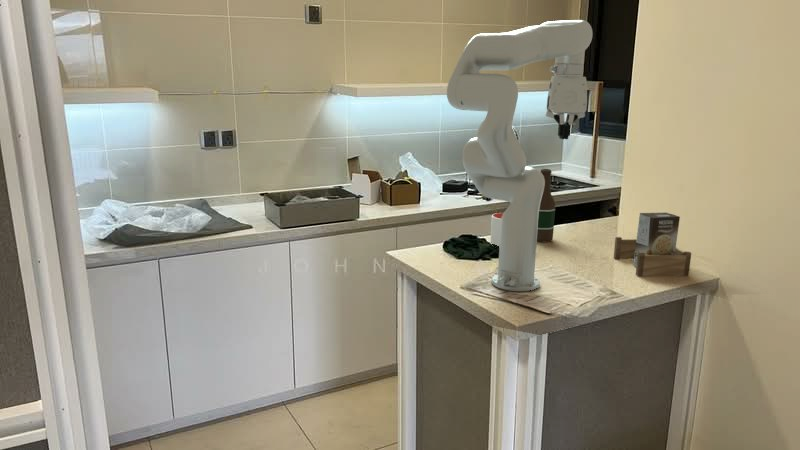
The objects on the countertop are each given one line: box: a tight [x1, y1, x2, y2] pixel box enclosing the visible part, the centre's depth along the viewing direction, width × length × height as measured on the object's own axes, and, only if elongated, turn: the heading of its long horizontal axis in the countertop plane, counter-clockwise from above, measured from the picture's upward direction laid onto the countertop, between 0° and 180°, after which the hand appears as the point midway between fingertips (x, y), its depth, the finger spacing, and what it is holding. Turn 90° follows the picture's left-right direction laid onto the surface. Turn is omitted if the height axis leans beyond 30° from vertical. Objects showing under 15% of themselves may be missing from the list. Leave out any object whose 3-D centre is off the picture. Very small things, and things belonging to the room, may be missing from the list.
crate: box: [613, 236, 692, 277], centre depth 185 cm, size 18×15×7 cm
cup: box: [490, 212, 504, 246], centre depth 204 cm, size 10×10×10 cm
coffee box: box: [632, 212, 681, 268], centre depth 182 cm, size 9×6×16 cm
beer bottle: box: [537, 168, 556, 243], centre depth 211 cm, size 8×8×24 cm
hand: (563, 138), depth 176 cm, fingers closed
